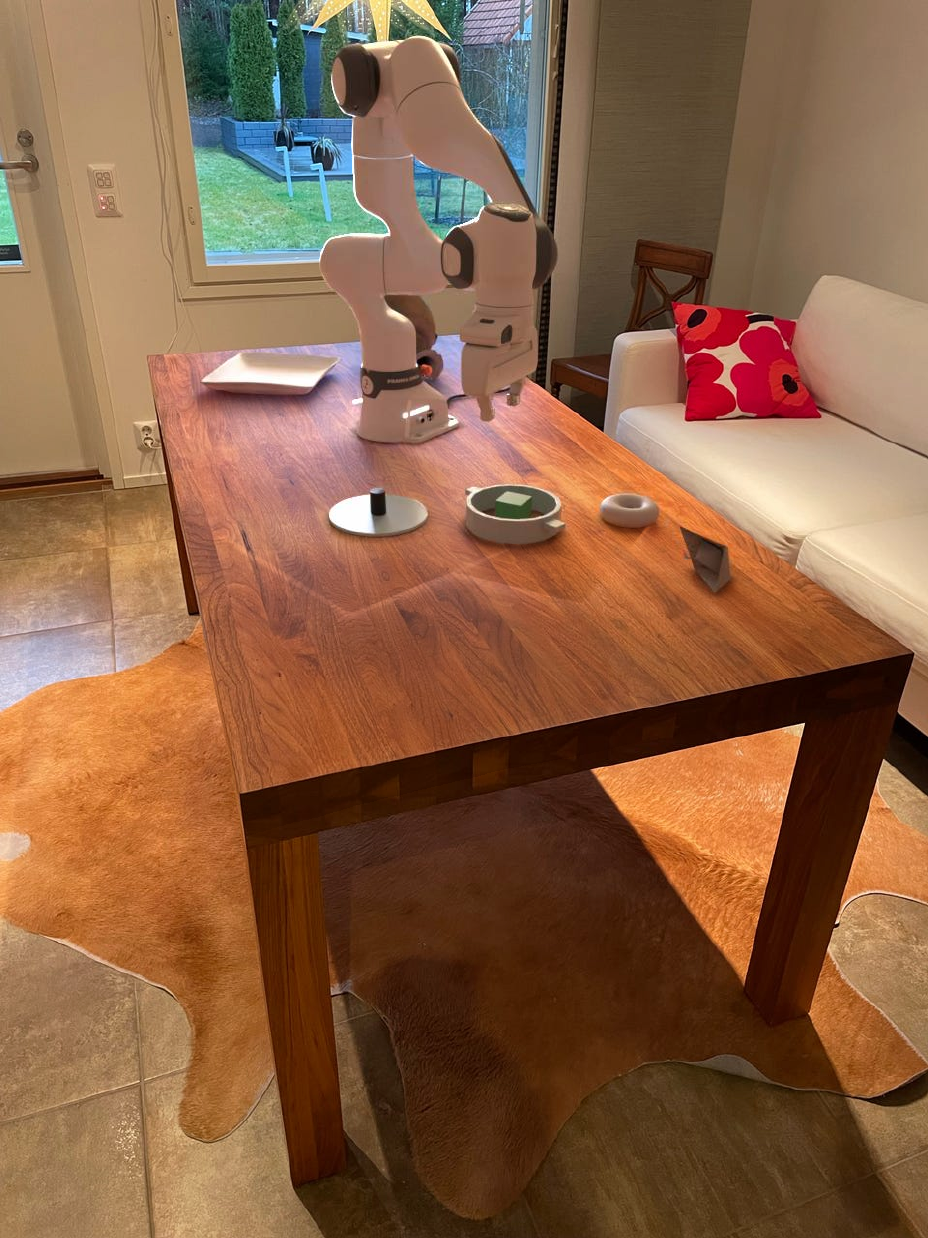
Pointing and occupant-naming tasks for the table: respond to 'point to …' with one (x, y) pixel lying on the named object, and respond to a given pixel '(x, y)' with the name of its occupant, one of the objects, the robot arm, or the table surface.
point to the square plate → (270, 373)
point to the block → (513, 506)
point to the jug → (419, 329)
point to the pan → (513, 528)
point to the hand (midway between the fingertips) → (500, 412)
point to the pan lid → (378, 514)
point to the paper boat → (708, 559)
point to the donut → (629, 510)
